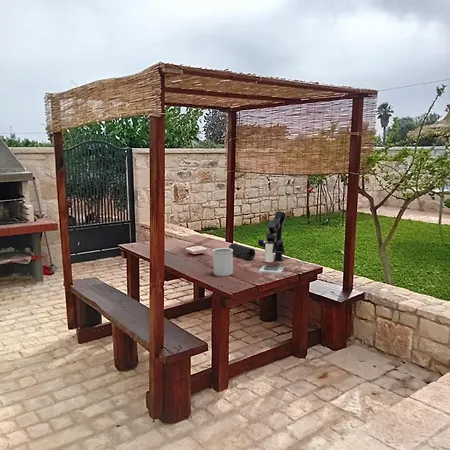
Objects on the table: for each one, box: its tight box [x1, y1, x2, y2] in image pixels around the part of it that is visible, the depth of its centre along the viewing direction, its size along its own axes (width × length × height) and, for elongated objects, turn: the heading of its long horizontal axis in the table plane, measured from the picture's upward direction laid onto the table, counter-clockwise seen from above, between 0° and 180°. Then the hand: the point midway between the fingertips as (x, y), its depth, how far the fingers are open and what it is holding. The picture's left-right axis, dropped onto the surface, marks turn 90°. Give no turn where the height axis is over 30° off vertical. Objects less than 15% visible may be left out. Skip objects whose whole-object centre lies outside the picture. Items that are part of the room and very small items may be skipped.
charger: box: [264, 243, 274, 263], centre depth 318 cm, size 5×5×13 cm
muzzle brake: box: [228, 242, 256, 261], centre depth 362 cm, size 10×28×10 cm, turn 32°
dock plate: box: [258, 264, 285, 275], centre depth 319 cm, size 16×16×3 cm
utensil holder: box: [212, 247, 234, 277], centre depth 311 cm, size 15×15×18 cm
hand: (269, 252), depth 317 cm, fingers closed on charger, 5 cm apart
